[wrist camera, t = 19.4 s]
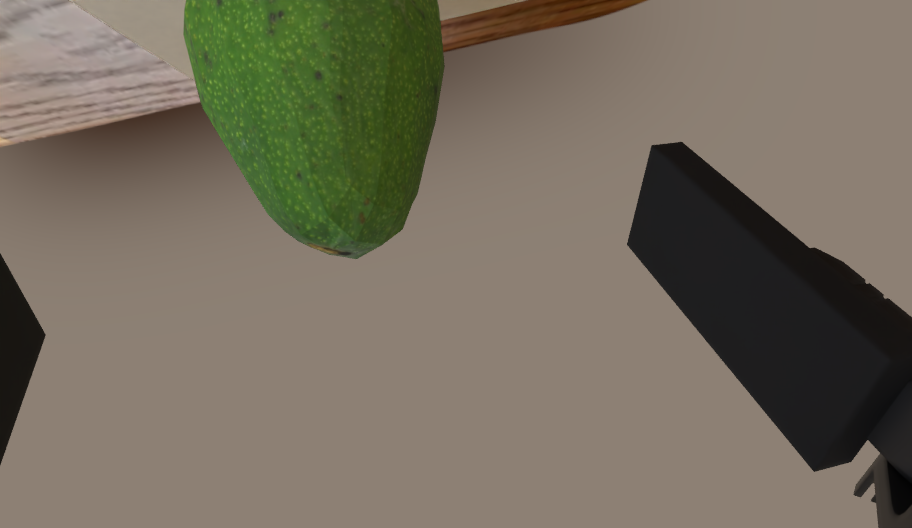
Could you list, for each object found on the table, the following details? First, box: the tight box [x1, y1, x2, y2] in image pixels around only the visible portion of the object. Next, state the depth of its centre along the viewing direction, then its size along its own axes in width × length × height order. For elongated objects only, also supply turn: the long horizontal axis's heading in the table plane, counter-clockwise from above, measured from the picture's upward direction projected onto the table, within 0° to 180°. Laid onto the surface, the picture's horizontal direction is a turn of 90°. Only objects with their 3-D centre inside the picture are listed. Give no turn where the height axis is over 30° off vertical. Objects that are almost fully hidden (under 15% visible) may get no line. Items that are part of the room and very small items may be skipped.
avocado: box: [183, 0, 444, 259], centre depth 19 cm, size 8×8×12 cm
